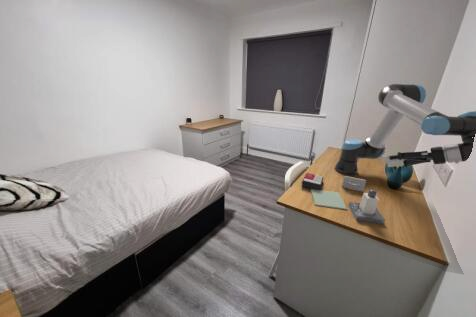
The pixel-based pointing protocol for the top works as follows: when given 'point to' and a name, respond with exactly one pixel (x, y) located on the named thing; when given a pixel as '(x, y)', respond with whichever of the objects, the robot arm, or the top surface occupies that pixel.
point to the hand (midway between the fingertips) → (384, 162)
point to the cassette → (358, 186)
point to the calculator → (312, 181)
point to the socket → (366, 217)
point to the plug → (369, 202)
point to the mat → (328, 199)
